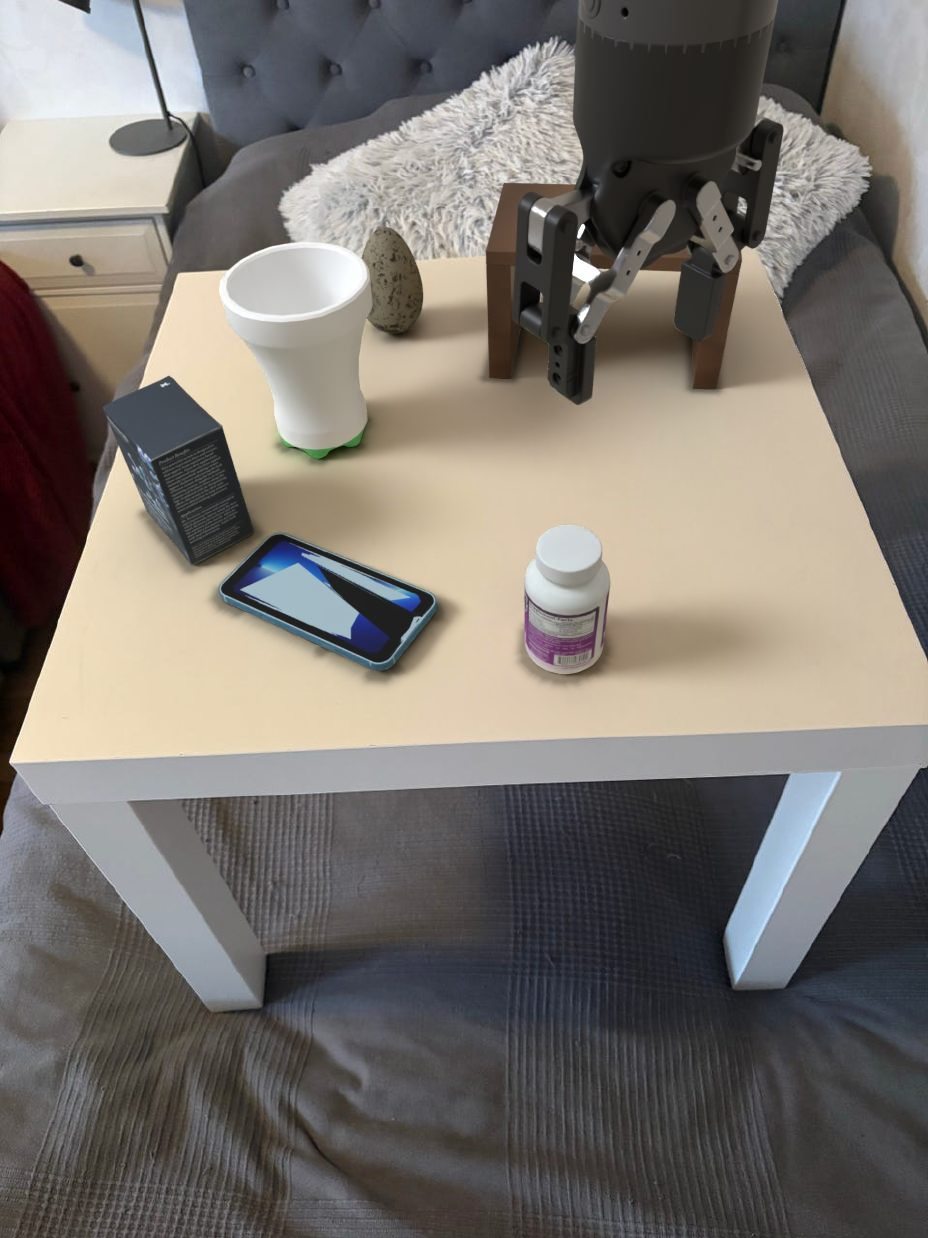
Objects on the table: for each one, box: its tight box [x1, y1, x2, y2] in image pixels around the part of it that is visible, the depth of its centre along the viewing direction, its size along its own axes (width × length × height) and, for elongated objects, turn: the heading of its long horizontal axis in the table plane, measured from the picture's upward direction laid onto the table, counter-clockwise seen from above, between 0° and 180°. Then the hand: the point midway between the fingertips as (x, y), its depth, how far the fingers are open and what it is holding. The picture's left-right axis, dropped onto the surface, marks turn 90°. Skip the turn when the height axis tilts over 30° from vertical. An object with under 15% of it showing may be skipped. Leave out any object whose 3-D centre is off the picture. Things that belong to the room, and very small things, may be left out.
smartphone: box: [218, 532, 438, 671], centre depth 65 cm, size 7×1×15 cm
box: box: [102, 375, 255, 565], centre depth 68 cm, size 8×6×11 cm
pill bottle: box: [523, 524, 611, 675], centre depth 59 cm, size 5×5×10 cm
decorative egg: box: [361, 226, 424, 335], centre depth 84 cm, size 6×6×10 cm
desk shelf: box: [485, 182, 743, 390], centre depth 80 cm, size 20×12×12 cm, turn 82°
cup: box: [218, 241, 373, 459], centre depth 73 cm, size 11×11×14 cm
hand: (634, 363), depth 47 cm, fingers open, 8 cm apart
